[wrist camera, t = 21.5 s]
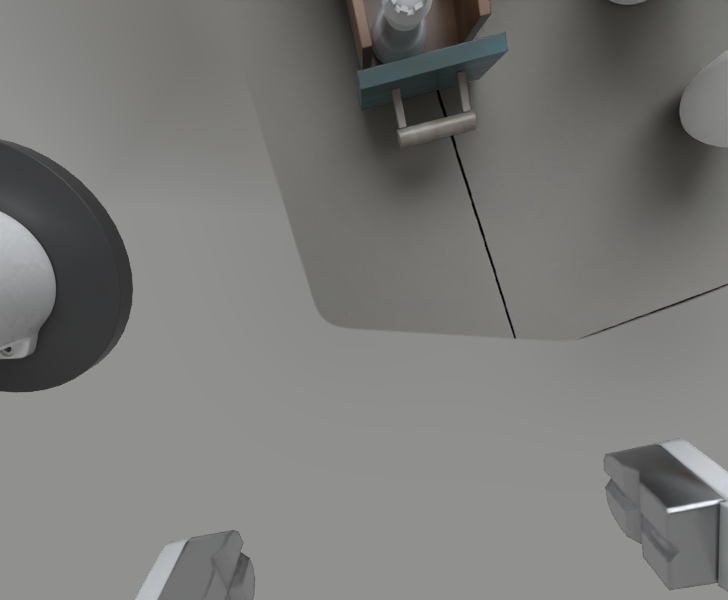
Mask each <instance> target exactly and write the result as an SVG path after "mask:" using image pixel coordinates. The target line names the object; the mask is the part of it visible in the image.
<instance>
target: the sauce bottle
mask: <svg viewBox="0 0 728 600" xmlns="http://www.w3.org/2000/svg"><path fill="white" fill-rule="evenodd" d="M680 120H681V123H682V126H683V128H684V129H685V131H686V132H687V133H688V134H689V135H691V136H692V137H693V138H695V139H697V140H699V141H701V142H703V143H705V144H709V145H713V146H718V147H725V148H728V50H727V51H725V52H724V53H722V54H720V55H719V56H718V57H716V58H715V59H714V60H712V61H711V62H710V63H709V64H707V65H706V66H705V67H704V68H703V69H702V70H700V72H699V73H698V74H697V75H696V76H695V77H694V78H693V79H692V81H691V82H690V83H689V84H688V86H687V88H686V89H685V91H684V93H683V96H682V98H681V102H680Z"/></svg>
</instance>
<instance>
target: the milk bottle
mask: <svg viewBox="0 0 728 600" xmlns="http://www.w3.org/2000/svg"><path fill="white" fill-rule="evenodd" d="M610 1H611V2H614V3H618V4H626V5H630V4H638V3H641V2H644V1H647V0H610Z"/></svg>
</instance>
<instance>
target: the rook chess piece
mask: <svg viewBox="0 0 728 600" xmlns="http://www.w3.org/2000/svg"><path fill="white" fill-rule="evenodd" d="M382 4H383V7H381V8H380V10H379V11H378V13H377V14H376V16H375V18H374V20H373V24H372V28H371V38H372V43H373V51H374V53H375V55H376V57H377V58H378V59H379V60H380V61H381V62H382V63H384V64H387V63H390V62H394V61H398V60H401V59H405V58H409V57H413V56H416V55H420V54H421V52H422V51H423V48H424V44H425V40H426V35H427V29H426V21H425V16H426V15H427V13H428V12H429V10H430V8H431V4H432V0H382Z"/></svg>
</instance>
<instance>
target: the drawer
mask: <svg viewBox="0 0 728 600" xmlns="http://www.w3.org/2000/svg"><path fill="white" fill-rule="evenodd" d="M346 3H347V8H348V13H349V17H350V22H351V27H352V31H353V36H354V40H355V45H356V50H357V54H358V59H359V64H360V68H361V71H357V89H358V99H359V103H360V108H361V110H363V109H367V108H371V107H375V106H378V105H382V104H386V103H390V102H393V103H394V108H395V113H396V118H397V123H398V128H399V129H398V130H397V139H398V143H399V147H400V148H405V147H409V146H412V145H416V144H420V143H424V142H428V141H432V140H436V139H440V138H444V137H448V136H452V135H456V134H460V133H464V132H468V131H471V130H475V129H476V125H477V120H476V115H475V112H474V111H470V110H471V108H470V101H469V94H468V88H467V82H470V81H474V80H478V79H480V78H481V77H482V76H483V75H484V74H485V73H486V72H487V71H488V70H489V69H490V68H491V67H492V66H493V65H494V64H495V63H496V62H497V61H498V60H499V59H500V58H501V57H502V56H503V55H504V54H505V53H506V52H507V51H508V48H507V40H506V32H502V33H498V34H495V35H491V36H487V37H483V38H480V39H476V40H473V38H474V37H475V36H476V34H477V33H478V31H479V30H480V29H481V27H482V26H483V24H484V23H485V22H486V20H487V19H488V17H489V16H490V15H491V7H490V0H432V4H431V8H430V10H429V12H428V13H427V15H426V16H425V21H426V29H427V35H426V40H425V44H424V48H423V51H422V52H421V54H420V55H416V56H413V57H409V58H405V59H401V60H398V61H394V62H390V63H387V64H384V63H382V62H381V61H380V60H379V59H378V58H377V57H376V55H375V53H374V51H373V43H372V38H371V28H372V24H373V20H374V18H375V16H376V14H377V13H378V11H379V10H380V8H381V7H383V4H382V0H346ZM455 85H457V87H458V93H459V99H460V106H461V112H462V113H460V114H456V115H452V116H448V117H444V118H441V119H437V120H433V121H429V122H425V123H421V124H417V125H413V126H410V127H407V125H406V119H405V114H404V109H403V104H402V99H405V98H409V97H413V96H417V95H420V94H424V93H428V92H432V91H436V90H439V89H443V88H447V87H451V86H455Z"/></svg>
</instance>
